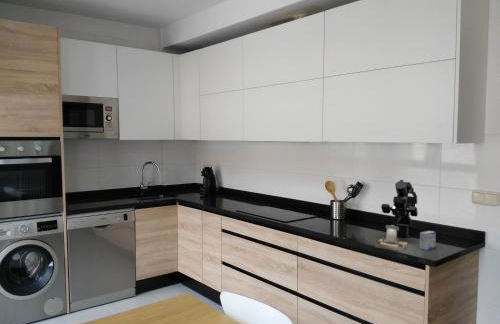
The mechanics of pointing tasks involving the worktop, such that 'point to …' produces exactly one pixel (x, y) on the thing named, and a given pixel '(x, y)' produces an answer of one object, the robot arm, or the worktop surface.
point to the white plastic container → (391, 233)
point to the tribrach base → (391, 244)
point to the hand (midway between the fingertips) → (396, 222)
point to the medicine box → (427, 240)
